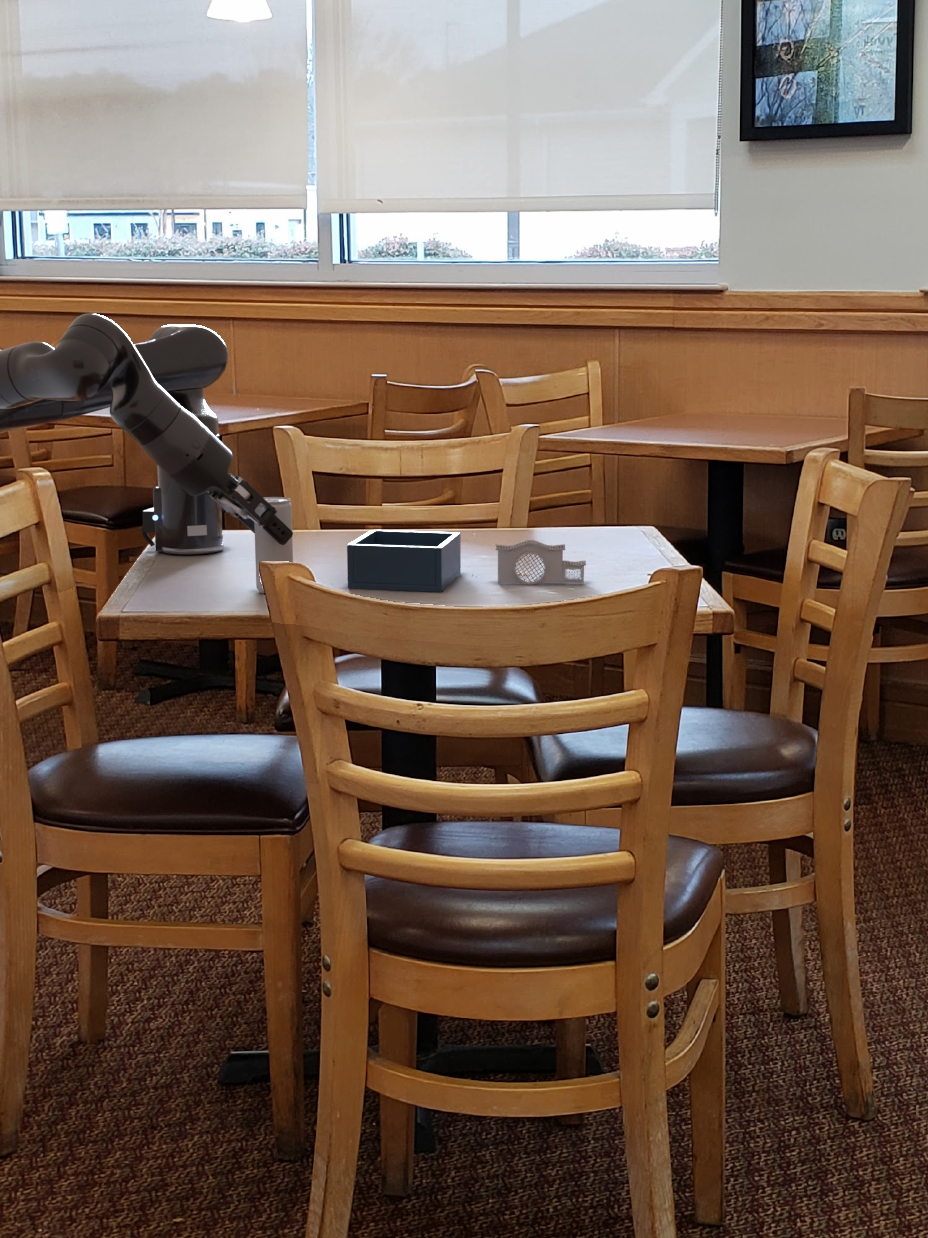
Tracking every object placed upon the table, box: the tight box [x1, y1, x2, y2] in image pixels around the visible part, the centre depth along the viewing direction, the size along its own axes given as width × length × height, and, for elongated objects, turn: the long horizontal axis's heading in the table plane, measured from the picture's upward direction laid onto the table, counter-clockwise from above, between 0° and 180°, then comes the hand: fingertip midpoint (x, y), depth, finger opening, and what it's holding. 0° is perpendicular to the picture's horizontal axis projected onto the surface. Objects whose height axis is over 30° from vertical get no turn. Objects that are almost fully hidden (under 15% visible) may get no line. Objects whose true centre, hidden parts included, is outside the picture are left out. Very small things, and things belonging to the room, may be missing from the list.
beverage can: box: [254, 496, 294, 594], centre depth 189 cm, size 5×5×12 cm
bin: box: [346, 529, 462, 593], centre depth 196 cm, size 13×13×6 cm
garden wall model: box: [495, 539, 587, 586], centre depth 195 cm, size 12×2×6 cm, turn 90°
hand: (275, 534), depth 189 cm, fingers open, 8 cm apart
